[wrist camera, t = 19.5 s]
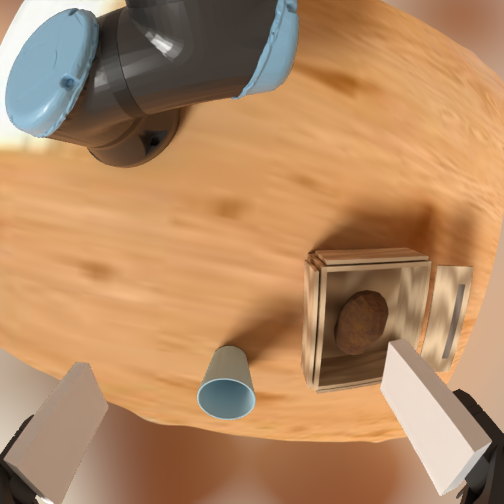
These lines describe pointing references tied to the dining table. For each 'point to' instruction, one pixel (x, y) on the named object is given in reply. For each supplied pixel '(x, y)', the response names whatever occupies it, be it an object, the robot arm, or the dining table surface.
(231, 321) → the dining table surface
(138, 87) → the robot arm
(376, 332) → the potato
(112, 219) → the dining table surface
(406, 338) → the carton
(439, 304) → the flap
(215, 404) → the cup
